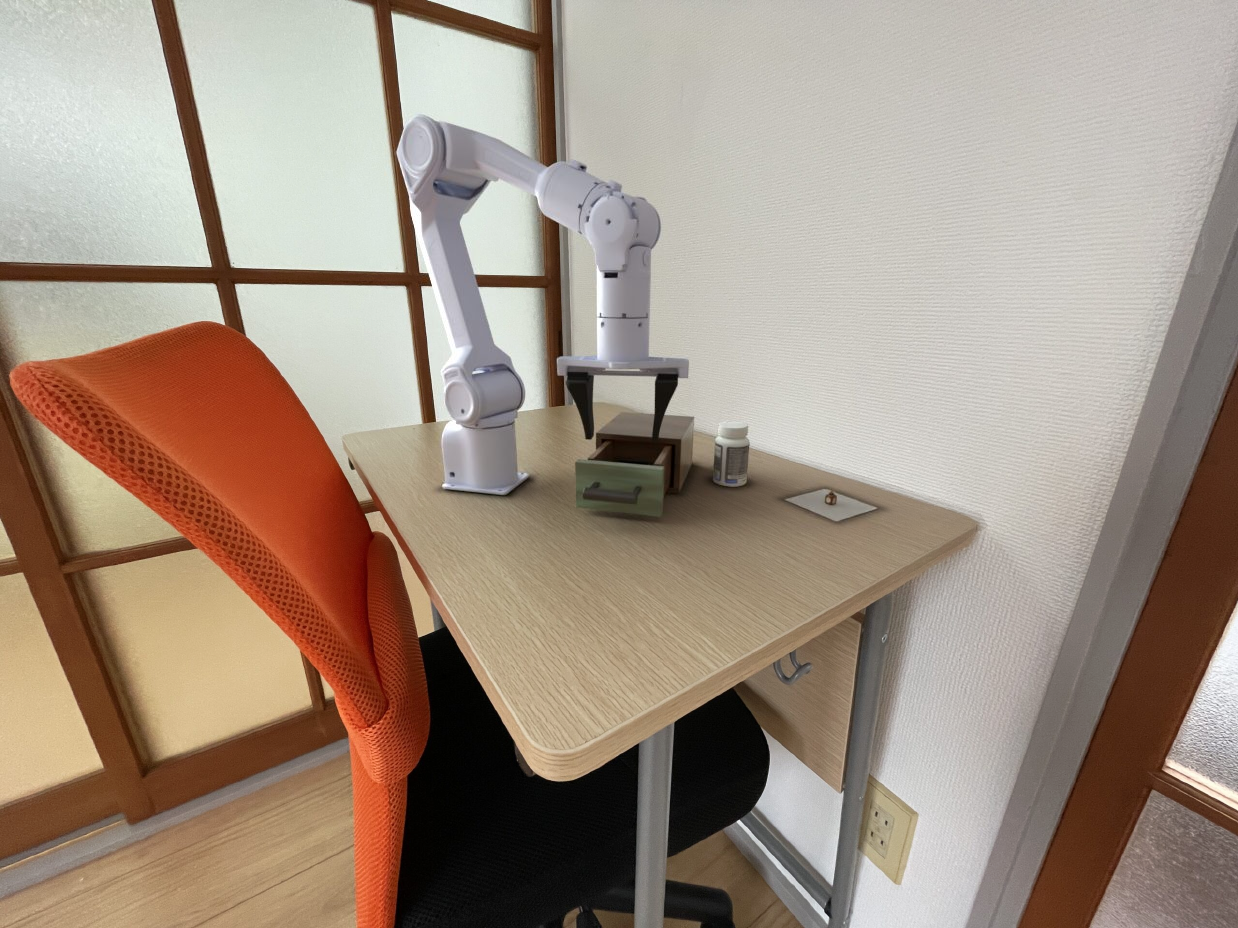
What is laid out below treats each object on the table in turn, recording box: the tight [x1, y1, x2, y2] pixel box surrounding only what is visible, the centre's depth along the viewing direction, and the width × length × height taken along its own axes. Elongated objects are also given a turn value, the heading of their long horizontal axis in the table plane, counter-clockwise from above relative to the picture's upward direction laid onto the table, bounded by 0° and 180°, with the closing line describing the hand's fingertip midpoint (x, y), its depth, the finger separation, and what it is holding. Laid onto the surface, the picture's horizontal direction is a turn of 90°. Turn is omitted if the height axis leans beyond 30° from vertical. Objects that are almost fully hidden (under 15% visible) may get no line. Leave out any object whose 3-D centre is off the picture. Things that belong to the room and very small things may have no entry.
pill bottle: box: [712, 420, 751, 488], centre depth 74 cm, size 5×5×8 cm
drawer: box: [574, 439, 674, 518], centre depth 65 cm, size 16×10×6 cm, turn 165°
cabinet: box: [595, 411, 695, 495], centre depth 77 cm, size 14×12×8 cm
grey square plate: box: [784, 488, 878, 522], centre depth 67 cm, size 8×8×2 cm
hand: (622, 438), depth 61 cm, fingers open, 7 cm apart
